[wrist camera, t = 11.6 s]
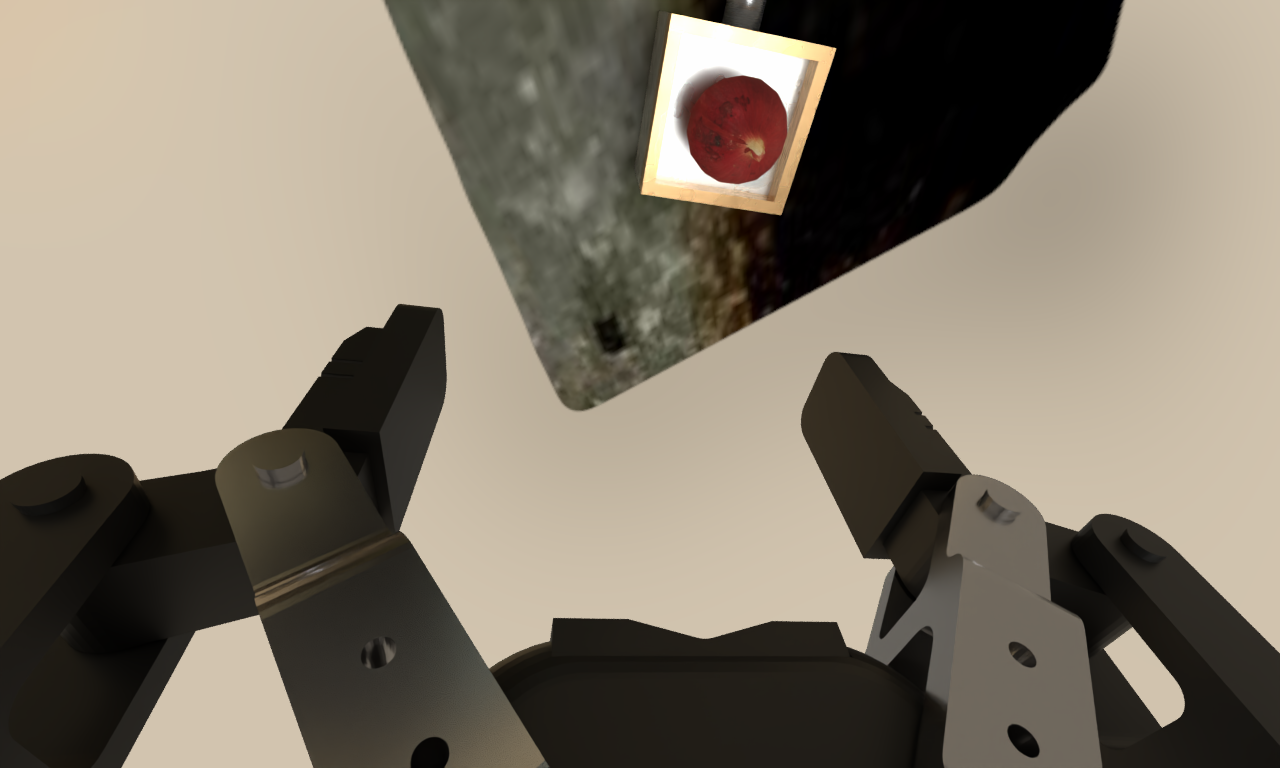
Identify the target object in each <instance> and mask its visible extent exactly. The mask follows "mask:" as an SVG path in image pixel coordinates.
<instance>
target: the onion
mask: <svg viewBox="0 0 1280 768" xmlns="http://www.w3.org/2000/svg"><path fill="white" fill-rule="evenodd" d="M687 137H688V142H689V148H690V154H691V156H692V157H693V159H694V160H695V161H696V163H697V164H698V166H699V167H700V168H701V170H702V171H703V172H704V173H705V174H707V175H708V176H710V177H712V178H713V179H715V180H716V181H718V182H722V183H730V184H742V183H746V182H750V181H755V180H757V179H758V178H760V177H761V176H762V175H763V174H765V173H766V172H767V171H769V170H770V169H771V168H772V166H773V165H774V163H775V162H776V160H777V159H778V158H779V156H780V155H781V153H782V150H783V146H784V143H785V140H786V137H787V112H786V109H785V107H784V105H783V103H782V100H781V98H780V96H779V94H778V93H777V92H776V91H775V90H774V89H773V88H771V87H770V86H769V85H768V84H767V83H765V82H764V81H763V80H762V79H759V78H755V77H750V76H745V75H741V76H735V77H730V78H724V79H721V80H720V81H718V82H717V83H715V84H713V85H712V86H710V87H709V88H707V89H706V90H705V91H704V92H703V93H702V95H701V96H700V98H699V99H698V100H697V102H696V103H695V104H694V106H693V107H692V109H691V114H690V118H689V122H688V127H687Z"/></svg>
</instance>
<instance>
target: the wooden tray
mask: <svg viewBox="0 0 1280 768" xmlns="http://www.w3.org/2000/svg"><path fill="white" fill-rule="evenodd" d="M766 1H767V0H727V2H726V6H725V11H724V15H723V20H722V24H720V23H715V22H710V21H706V20H701V19H696V18H692V17H687V16H682V15H678V14H673V13H668V12H664V11H659V14H658V20H657V26H656V33H655V39H654V45H653V52H652V58H651V64H650V71H649V77H648V83H647V90H646V96H645V102H644V109H643V115H642V121H641V128H640V134H639V140H638V147H637V153H636V159H635V166H634V169H635V173H636V177H637V180H638V184H639V188H640V191H641V194H646V195H652V196H659V197H665V198H672V199H678V200H685V201H691V202H698V203H705V204H711V205H718V206H724V207H731V208H737V209H744V210H751V211H757V212H764V213H770V214H777V215H781V214H782V211H783V208H784V205H785V202H786V199H787V196H788V193H789V190H790V187H791V184H792V181H793V178H794V175H795V172H796V169H797V166H798V163H799V160H800V157H801V154H802V151H803V148H804V145H805V142H806V139H807V136H808V133H809V130H810V127H811V124H812V121H813V117H814V114H815V111H816V108H817V105H818V102H819V99H820V96H821V93H822V90H823V87H824V84H825V81H826V78H827V75H828V72H829V69H830V66H831V63H832V60H833V57H834V54H835V51H836V48H832V47H827V46H823V45H818V44H813V43H809V42H804V41H800V40H795V39H790V38H786V37H781V36H776V35H772V34H767V33H762V32H759V28H760V24H761V20H762V16H763V12H764V8H765V4H766ZM741 75H745V76H750V77H755V78H759V79H762V80H763V81H764V82H765V83H767V84H768V85H769V86H770V87H771V88H773V89H774V90H775V91H776V92H777V93H778V94H779V96H780V98H781V100H782V103H783V105H784V107H785V109H786V112H787V137H786V140H785V143H784V146H783V150H782V153H781V155H780V156H779V158H778V159H777V160H776V162H775V163H774V165H773V166H772V168H771V169H770V170H769V171H767V172H766V173H765V174H763V175H762V176H761V177H760V178H758V179H757V180H755V181H750V182H746V183H742V184H730V183H722V182H718V181H716V180H715V179H713V178H712V177H710V176H708V175H707V174H705V173H704V172H703V171H702V170H701V168H700V167H699V166H698V164H697V163H696V161H695V160H694V159H693V157H692V156H691V154H690V148H689V142H688V137H687V127H688V122H689V118H690V114H691V109H692V107H693V106H694V104H695V103H696V102H697V100H698V99H699V98H700V96H701V95H702V93H703V92H704V91H705V90H706V89H707V88H709V87H710V86H712V85H713V84H715V83H717V82H718V81H720V80H721V79H724V78H730V77H735V76H741Z"/></svg>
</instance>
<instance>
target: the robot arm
mask: <svg viewBox="0 0 1280 768" xmlns="http://www.w3.org/2000/svg"><path fill="white" fill-rule="evenodd" d="M445 355H446V354H445V336H444V319H443V313H442V310H441V309H440V308H432V307H423V306H414V305H405V304H398V305H397V306H396V308H395V310H394V311H393V313H392V315H391V316H390V318H389V320H388V321H387V323H386V324H385V326H384V328H372V327H366V328H364V329H362V330H360V331H359V332H357V333H356V334H354V335H352V336H351V337H349V338H347V339H346V340H344V341H343V343H342V344H341V346H340V347H339V348H338V350H337V351H336V353H335V354H334V355H333V357H332V361H331V362H329V363H328V364H327V365H326V367H325V368H324V370H323V371H322V373H321V377H318V378H317V380H316V381H315V383H314V384H313V386H312V387H311V388H310V390H309V391H308V393H307V394H306V395H305V397H304V398H303V400H302V401H301V403H300V404H299V406H298V407H297V408H296V410H295V411H294V413H293V414H292V415H291V417H290V418H289V420H288V421H287V423H286V424H285V426H284V427H283V428H282V430H276V431H272V432H268V433H264V434H262V435H259V436H256V437H254V438H251V439H250V440H247V441H245V442H244V443H242V444H240V445H238V446H237V447H236V448H234V449H233V450H232V451H230V452H229V453H228V454H227V455H226V456H225V457H224V458H223V460H222V461H221V463H220V464H219V466H218V468H216V469H212V470H206V471H201V472H195V473H188V474H181V475H175V476H168V477H163V478H155V479H149V480H142V481H139V480H138V478H137V476H136V475H135V473H134V471H133V470H132V468H131V466H130V465H129V464H128V463H127V462H125V461H124V460H122V459H120V458H117V457H115V456H110V455H103V454H79V455H70V456H65V457H60V458H55V459H51V460H47V461H44V462H40V463H37V464H35V465H32V466H29V467H26V468H24V469H22V470H19V471H17V472H15V473H13V474H11V475H9V476H7V477H5V478H3V479H1V480H0V768H121V767H122V765H123V763H124V762H125V760H126V758H127V756H128V754H129V752H130V751H131V749H132V747H133V745H134V743H135V742H136V740H137V738H138V736H139V734H140V732H141V731H142V729H143V727H144V725H145V723H146V721H147V719H148V718H149V716H150V714H151V712H152V710H153V708H154V707H155V705H156V703H157V701H158V699H159V697H160V696H161V694H162V692H163V690H164V688H165V686H166V684H167V683H168V681H169V679H170V677H171V675H172V673H173V672H174V669H175V668H176V666H177V664H178V662H179V661H180V659H181V657H182V655H183V653H184V651H185V649H186V647H187V646H188V644H189V642H190V640H191V638H192V637H193V635H194V633H195V631H197V630H201V629H205V628H209V627H213V626H216V625H221V624H224V623H228V622H232V621H236V620H240V619H244V618H248V617H251V616H256V615H260V618H261V621H262V624H263V626H264V629H265V632H266V635H267V638H268V641H269V644H270V646H271V649H272V652H273V655H274V657H275V661H276V663H277V666H278V669H279V672H280V675H281V678H282V680H283V683H284V686H285V689H286V692H287V694H288V697H289V700H290V703H291V706H292V708H293V711H294V714H295V717H296V720H297V723H298V726H299V728H300V731H301V734H302V737H303V740H304V742H305V745H306V748H307V751H308V754H309V757H310V760H311V762H312V765H313V768H1280V653H1279V652H1278V651H1277V650H1275V648H1274V647H1273V646H1271V644H1270V643H1269V642H1268V641H1267V640H1266V639H1265V638H1264V637H1263V636H1262V635H1261V634H1260V633H1259V632H1258V631H1257V630H1256V629H1255V628H1254V627H1252V625H1251V624H1250V623H1249V622H1247V620H1246V619H1245V618H1244V617H1243V616H1241V614H1240V613H1238V612H1237V610H1236V609H1235V608H1234V607H1233V606H1231V604H1230V603H1228V602H1227V601H1226V599H1224V597H1223V596H1222V595H1220V594H1219V593H1218V592H1217V591H1216V590H1215V589H1214V588H1213V587H1212V586H1211V585H1210V584H1209V583H1208V582H1207V581H1206V580H1205V579H1204V578H1203V577H1202V576H1201V575H1200V574H1199V573H1198V572H1197V571H1196V570H1195V569H1194V568H1193V567H1192V566H1191V565H1190V564H1189V563H1188V562H1187V561H1186V560H1185V559H1184V558H1183V557H1182V556H1181V555H1180V554H1179V553H1178V552H1177V551H1176V550H1175V549H1174V548H1173V547H1172V546H1171V545H1170V544H1168V543H1167V542H1166V541H1164V540H1163V539H1162V538H1161V537H1159V536H1158V535H1156V534H1155V533H1153V532H1151V531H1150V530H1148V529H1147V528H1145V527H1143V526H1141V525H1139V524H1137V523H1135V522H1133V521H1131V520H1128V519H1126V518H1123V517H1120V516H1116V515H1111V514H1099V515H1096V516H1095V517H1094V518H1093V519H1091V520H1090V521H1089V522H1088V523H1087V525H1085V526H1084V527H1083V528H1082V529H1081V530H1080V531H1079V532H1077V531H1074V530H1071V529H1067V528H1064V527H1061V526H1058V525H1054V524H1051V523H1048V522H1045V521H1044V519H1043V517H1042V515H1041V514H1040V512H1039V511H1038V510H1037V508H1036V507H1035V506H1034V505H1033V504H1032V503H1031V502H1030V501H1029V500H1028V499H1027V498H1026V497H1024V496H1023V495H1022V494H1020V493H1019V492H1018V491H1016V490H1015V489H1013V488H1011V487H1010V486H1008V485H1006V484H1004V483H1002V482H1000V481H998V480H995V479H992V478H989V477H986V476H981V475H972V474H971V473H970V471H969V470H968V469H967V468H966V466H965V465H964V464H963V463H962V462H961V460H960V459H959V458H958V457H957V455H956V454H955V453H954V452H953V450H952V449H951V448H950V447H949V445H948V444H947V443H946V442H945V440H944V439H943V438H942V437H941V435H940V434H939V433H938V432H937V430H933V425H932V424H931V423H930V422H929V420H928V419H927V418H926V417H925V416H922V412H921V410H920V409H919V408H918V407H917V405H916V404H915V403H914V402H913V401H912V399H911V398H910V397H909V396H908V395H907V394H906V393H905V392H903V391H902V390H901V389H899V388H898V387H897V386H895V385H894V384H893V383H891V382H890V381H889V380H888V378H887V377H886V376H885V374H884V373H883V372H882V371H881V369H880V368H879V367H878V365H877V364H876V363H875V362H874V360H873V359H872V358H871V357H869V356H867V355H859V354H850V353H840V352H833V353H831V354H830V355H829V356H828V357H827V358H826V359H825V361H824V363H823V366H822V368H821V370H820V372H819V374H818V377H817V379H816V381H815V383H814V386H813V388H812V390H811V392H810V394H809V396H808V399H807V401H806V403H805V405H804V408H803V411H802V417H801V428H802V433H803V435H804V437H805V440H806V442H807V444H808V446H809V448H810V450H811V452H812V454H813V456H814V458H815V460H816V462H817V464H818V466H819V468H820V470H821V472H822V474H823V476H824V478H825V480H826V483H827V485H828V487H829V489H830V491H831V493H832V495H833V497H834V499H835V501H836V503H837V505H838V507H839V509H840V511H841V513H842V515H843V517H844V519H845V521H846V523H847V525H848V527H849V529H850V531H851V533H852V535H853V537H854V540H855V542H856V544H857V545H858V547H859V549H860V552H861V554H862V556H863V558H871V559H891V561H892V563H893V564H894V566H893V568H892V569H891V570H890V572H889V573H888V574H887V576H886V579H885V582H884V585H883V589H882V593H881V597H880V600H879V604H878V608H877V612H876V616H875V619H874V623H873V627H872V631H871V634H870V638H869V642H868V646H867V649H866V652H865V654H864V653H862V652H859V651H857V650H854V649H852V648H849V647H846V644H845V642H844V639H843V637H842V634H841V632H840V629H839V627H838V624H837V622H789V621H788V622H787V621H771V622H768V623H764V624H761V625H757V626H753V627H750V628H746V629H743V630H739V631H735V632H732V633H728V634H725V635H721V636H718V637H714V638H710V639H700V638H696V637H692V636H688V635H685V634H681V633H677V632H674V631H670V630H666V629H663V628H659V627H655V626H651V625H648V624H644V623H640V622H637V621H633V620H629V619H581V618H553V624H552V631H551V638H550V641H549V642H545V643H542V644H538V645H534V646H532V647H529V648H527V649H524V650H522V651H519V652H517V653H515V654H513V655H511V656H509V657H507V658H506V659H504V660H502V661H500V662H498V663H497V664H495V665H494V666H492V667H491V668H490V669H489V668H488V667H487V665H486V664H485V662H484V660H483V659H482V657H481V655H480V654H479V652H478V651H477V649H476V647H475V646H474V644H473V642H472V641H471V639H470V638H469V636H468V634H467V633H466V631H465V630H464V628H463V626H462V625H461V623H460V621H459V620H458V618H457V616H456V615H455V613H454V612H453V610H452V608H451V607H450V605H449V603H448V602H447V600H446V599H445V597H444V595H443V594H442V592H441V590H440V589H439V587H438V586H437V584H436V582H435V581H434V579H433V577H432V576H431V574H430V573H429V571H428V569H427V568H426V566H425V564H424V563H423V561H422V560H421V558H420V556H419V555H418V553H417V551H416V550H415V548H414V547H413V545H412V544H411V542H410V541H409V539H408V538H407V537H406V536H405V535H404V534H403V533H402V532H400V531H399V530H400V527H401V524H402V521H403V518H404V515H405V512H406V509H407V507H408V504H409V501H410V498H411V495H412V493H413V490H414V486H415V484H416V481H417V478H418V475H419V472H420V470H421V466H422V464H423V461H424V458H425V455H426V452H427V450H428V447H429V444H430V441H431V438H432V435H433V432H434V429H435V426H436V423H437V421H438V418H439V415H440V412H441V409H442V406H443V403H444V399H445V392H446V381H447V373H446V356H445ZM1132 627H1133V628H1134V629H1135V630H1136V632H1137V633H1138V634H1139V635H1140V636H1141V638H1142V639H1143V640H1144V641H1145V643H1146V644H1147V645H1148V646H1149V648H1150V649H1151V650H1152V651H1153V653H1155V655H1156V656H1157V657H1158V659H1159V660H1160V661H1161V662H1162V664H1163V665H1164V666H1165V667H1166V669H1167V670H1168V671H1169V672H1170V673H1171V675H1172V676H1173V677H1174V678H1175V680H1176V681H1177V682H1178V684H1179V686H1180V688H1181V690H1182V692H1183V695H1184V699H1185V708H1184V712H1183V714H1182V715H1181V717H1180V718H1178V719H1177V720H1176V721H1174V722H1172V723H1170V724H1168V725H1167V726H1165V727H1163V728H1162V727H1161V726H1160V725H1159V723H1158V722H1157V721H1156V719H1155V718H1154V716H1153V715H1152V714H1151V712H1150V711H1149V710H1148V708H1147V707H1146V706H1145V704H1144V703H1143V702H1142V700H1141V699H1140V698H1139V696H1138V695H1137V694H1136V692H1135V691H1134V689H1133V688H1132V687H1131V685H1130V684H1129V683H1128V681H1127V680H1126V679H1125V677H1124V676H1123V675H1122V673H1121V672H1120V670H1119V669H1118V668H1117V666H1116V665H1115V664H1114V662H1113V661H1112V660H1111V658H1110V657H1109V656H1108V654H1107V653H1106V651H1105V650H1104V648H1105V647H1106V646H1108V645H1109V644H1110V643H1112V642H1113V641H1114V640H1116V639H1117V638H1118V637H1120V636H1121V635H1122V634H1124V633H1125V632H1126V631H1128V630H1129V629H1130V628H1132Z"/></svg>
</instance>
